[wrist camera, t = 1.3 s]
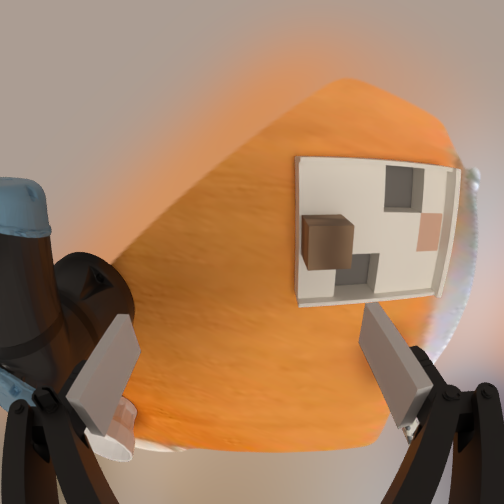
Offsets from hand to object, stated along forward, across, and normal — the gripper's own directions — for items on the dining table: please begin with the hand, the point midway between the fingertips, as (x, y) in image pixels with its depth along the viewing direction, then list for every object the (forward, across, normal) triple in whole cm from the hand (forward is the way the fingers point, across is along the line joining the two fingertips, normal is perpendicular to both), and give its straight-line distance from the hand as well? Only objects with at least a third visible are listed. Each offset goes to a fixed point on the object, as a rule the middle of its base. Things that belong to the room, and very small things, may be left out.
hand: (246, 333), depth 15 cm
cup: (+21, -29, -35) cm, 50 cm away
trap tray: (+20, +16, 0) cm, 26 cm away
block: (+17, +8, 0) cm, 19 cm away
